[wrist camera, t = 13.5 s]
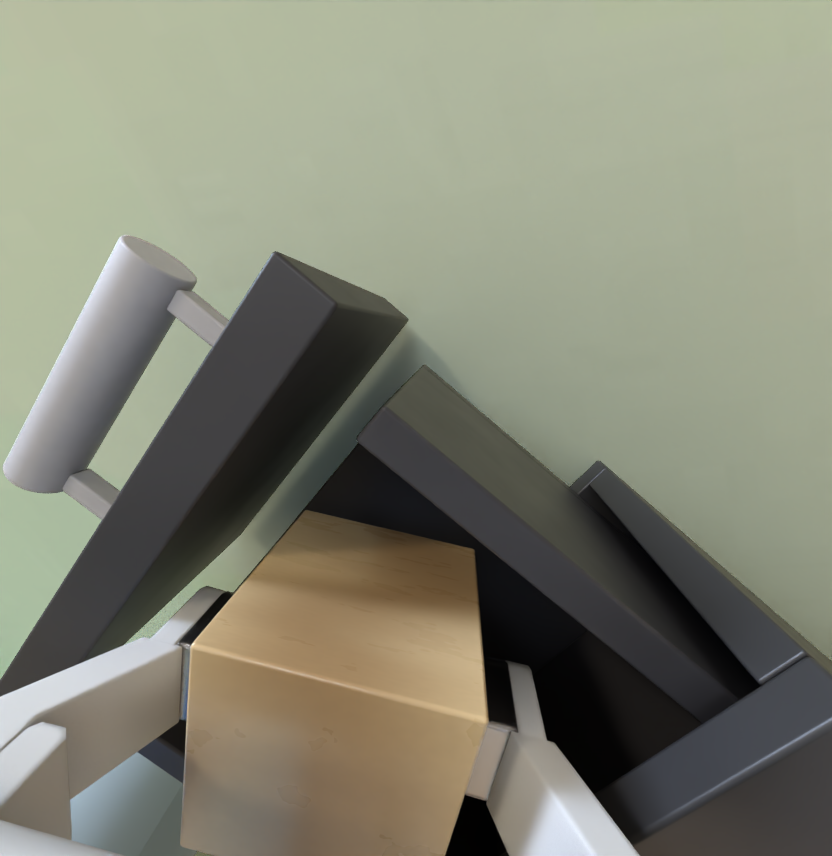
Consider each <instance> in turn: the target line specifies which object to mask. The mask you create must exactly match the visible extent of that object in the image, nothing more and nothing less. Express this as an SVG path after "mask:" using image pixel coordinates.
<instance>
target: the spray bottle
mask: <svg viewBox="0 0 832 856" xmlns="http://www.w3.org/2000/svg"><path fill="white" fill-rule="evenodd" d="M182 798H183V784H182V783H181V782H180V781H178V780H177V779H175V778H174V777H172V776H171V775H170V774H168V773H167V772H165V771H164V770H162V769H161V768H159V767H158V766H157V765H155V764H154V763H152V762H151V761H149V760H148V759H147V758H145V757H144V756H142V755H141V754H139V753H138V752H136V753H135V754H134V755H132V756H131V757H129V758H128V759H127V760H125V761H124V762H122V763H121V764H120V765H118V766H117V767H115V768H114V769H113V770H111V771H110V772H108V773H107V774H106V775H104V776H103V777H101V778H100V779H99V780H97V781H96V782H95V783H93V784H92V785H90V786H89V787H88V788H86V789H85V790H83V791H82V792H81V793H79V794H78V795H76V796H75V797H74V798H72V799H71V800H70V803H71V819H72V841H75V842H79V843H82V844H86V845H89V846H93V847H96V848H100V849H103V850H107V851H110V852H114V853H117V854H121V855H124V856H195V854H196V852H197V851H195V850H191V849H188V848H184V847H182V846H181V845H180V836H181V817H182Z"/></svg>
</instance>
